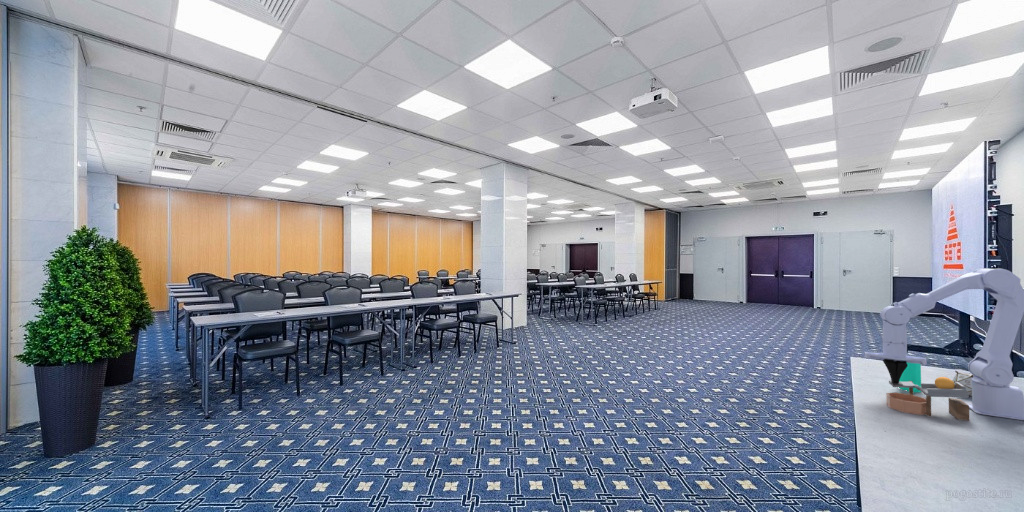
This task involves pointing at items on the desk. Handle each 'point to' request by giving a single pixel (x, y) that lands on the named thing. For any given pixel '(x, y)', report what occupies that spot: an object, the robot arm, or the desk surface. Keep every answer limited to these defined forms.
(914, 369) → the candle
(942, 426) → the desk surface
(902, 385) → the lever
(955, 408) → the lever stand
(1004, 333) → the robot arm
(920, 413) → the bowl
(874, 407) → the desk surface
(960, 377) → the game die
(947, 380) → the ball
